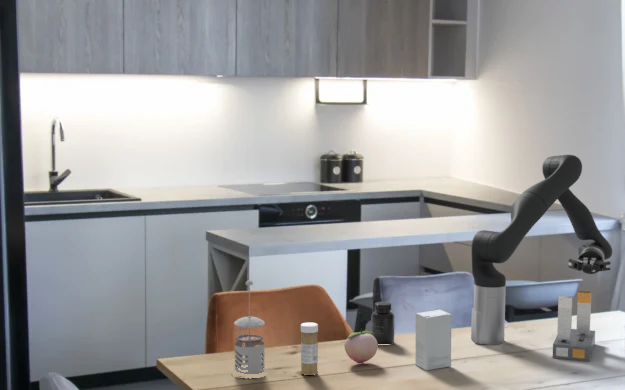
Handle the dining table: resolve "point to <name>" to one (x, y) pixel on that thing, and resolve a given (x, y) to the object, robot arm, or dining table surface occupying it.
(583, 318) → the knob orange
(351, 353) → the decorative fruit
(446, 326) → the skincare box
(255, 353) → the french press
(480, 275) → the robot arm
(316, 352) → the sprinkles bottle
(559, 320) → the grey upright block
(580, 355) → the console
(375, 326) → the supplement bottle
